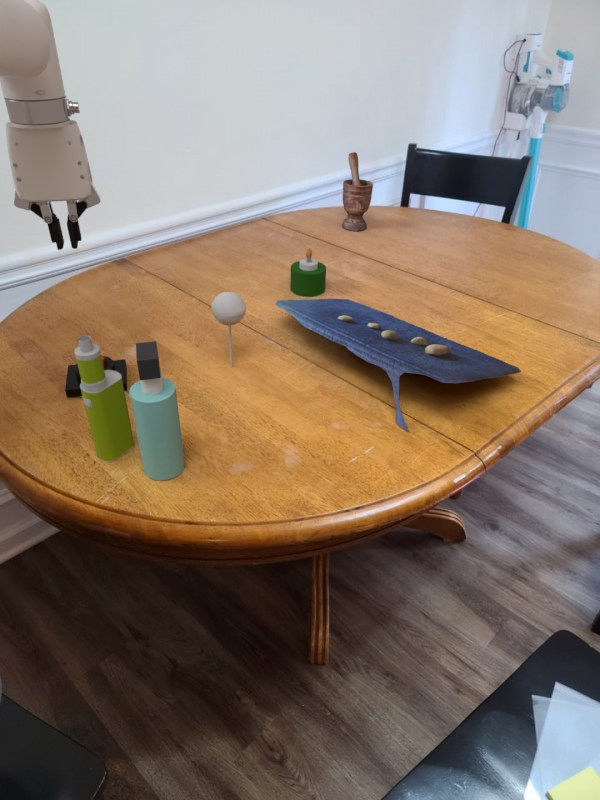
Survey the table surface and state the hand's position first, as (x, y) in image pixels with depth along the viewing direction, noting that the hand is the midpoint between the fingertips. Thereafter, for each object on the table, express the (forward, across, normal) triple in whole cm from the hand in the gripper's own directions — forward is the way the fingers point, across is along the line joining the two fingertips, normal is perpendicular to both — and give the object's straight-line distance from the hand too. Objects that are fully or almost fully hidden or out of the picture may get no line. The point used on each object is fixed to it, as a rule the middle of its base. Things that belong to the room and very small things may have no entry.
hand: (68, 245), depth 86 cm
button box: (+25, 0, 0) cm, 25 cm away
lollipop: (+25, -24, 0) cm, 35 cm away
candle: (+25, -47, -30) cm, 61 cm away
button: (+22, 0, 0) cm, 22 cm away
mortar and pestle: (+25, -72, -71) cm, 104 cm away
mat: (+25, -53, +3) cm, 59 cm away
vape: (+25, -3, +20) cm, 32 cm away
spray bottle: (+25, -10, +25) cm, 37 cm away
